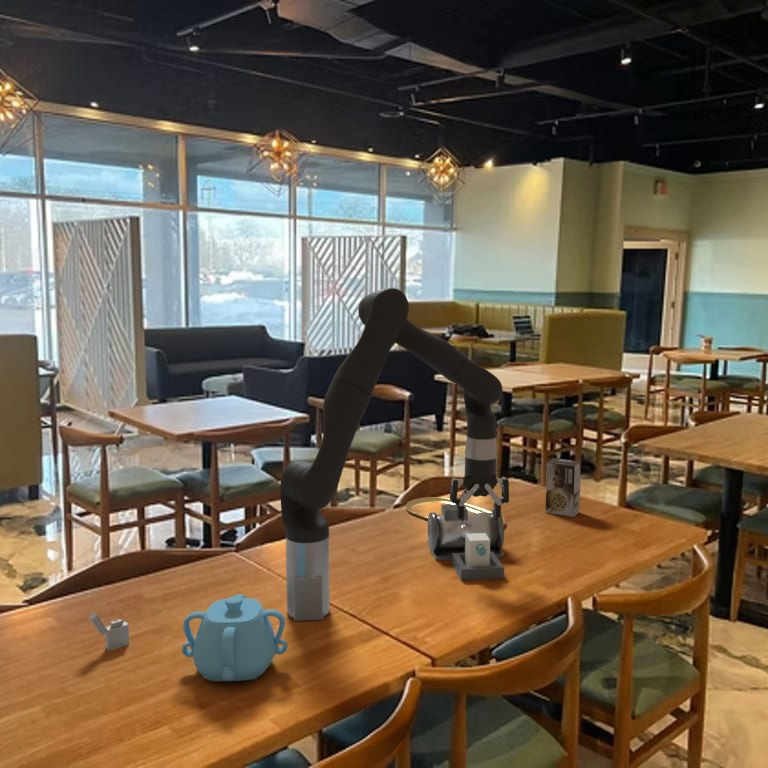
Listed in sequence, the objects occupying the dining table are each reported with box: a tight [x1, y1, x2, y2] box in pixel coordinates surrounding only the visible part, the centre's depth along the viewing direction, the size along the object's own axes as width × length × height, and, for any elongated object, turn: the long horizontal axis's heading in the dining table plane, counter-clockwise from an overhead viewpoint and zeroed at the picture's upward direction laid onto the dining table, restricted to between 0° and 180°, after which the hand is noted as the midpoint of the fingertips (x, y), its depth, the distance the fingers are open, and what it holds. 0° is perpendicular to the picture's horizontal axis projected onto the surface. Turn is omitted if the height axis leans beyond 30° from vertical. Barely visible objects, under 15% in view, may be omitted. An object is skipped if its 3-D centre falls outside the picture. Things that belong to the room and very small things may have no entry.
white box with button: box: [465, 533, 490, 567], centre depth 185 cm, size 7×5×8 cm
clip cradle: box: [451, 551, 505, 582], centre depth 188 cm, size 13×11×3 cm
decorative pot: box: [181, 593, 289, 682], centre depth 140 cm, size 16×16×14 cm
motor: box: [427, 503, 505, 561], centre depth 200 cm, size 12×18×12 cm, turn 97°
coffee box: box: [545, 457, 582, 518], centre depth 231 cm, size 9×6×16 cm
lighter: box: [88, 612, 130, 652], centre depth 147 cm, size 7×2×8 cm, turn 130°
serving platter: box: [405, 496, 506, 526], centre depth 228 cm, size 19×35×2 cm, turn 39°
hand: (478, 519), depth 185 cm, fingers open, 8 cm apart
